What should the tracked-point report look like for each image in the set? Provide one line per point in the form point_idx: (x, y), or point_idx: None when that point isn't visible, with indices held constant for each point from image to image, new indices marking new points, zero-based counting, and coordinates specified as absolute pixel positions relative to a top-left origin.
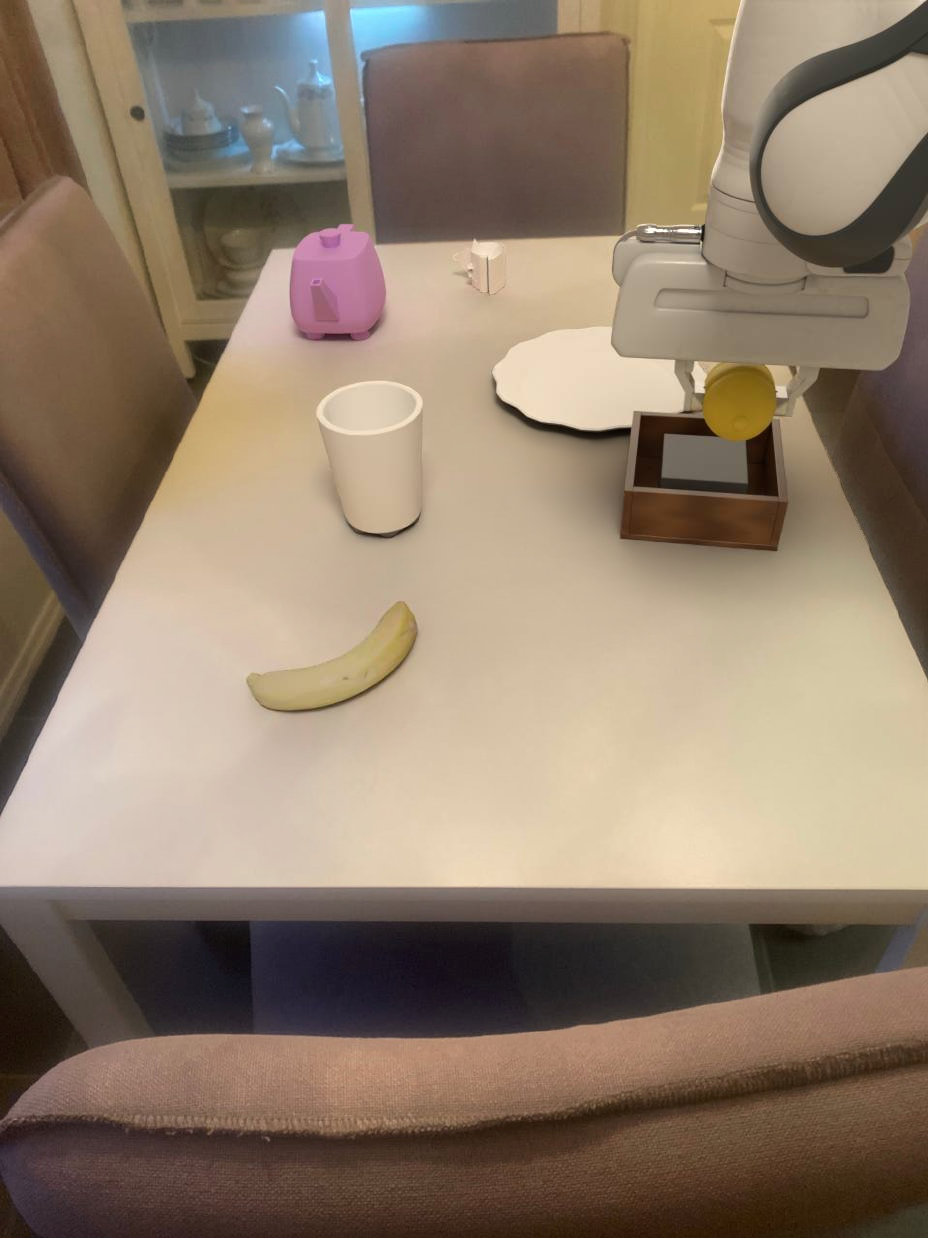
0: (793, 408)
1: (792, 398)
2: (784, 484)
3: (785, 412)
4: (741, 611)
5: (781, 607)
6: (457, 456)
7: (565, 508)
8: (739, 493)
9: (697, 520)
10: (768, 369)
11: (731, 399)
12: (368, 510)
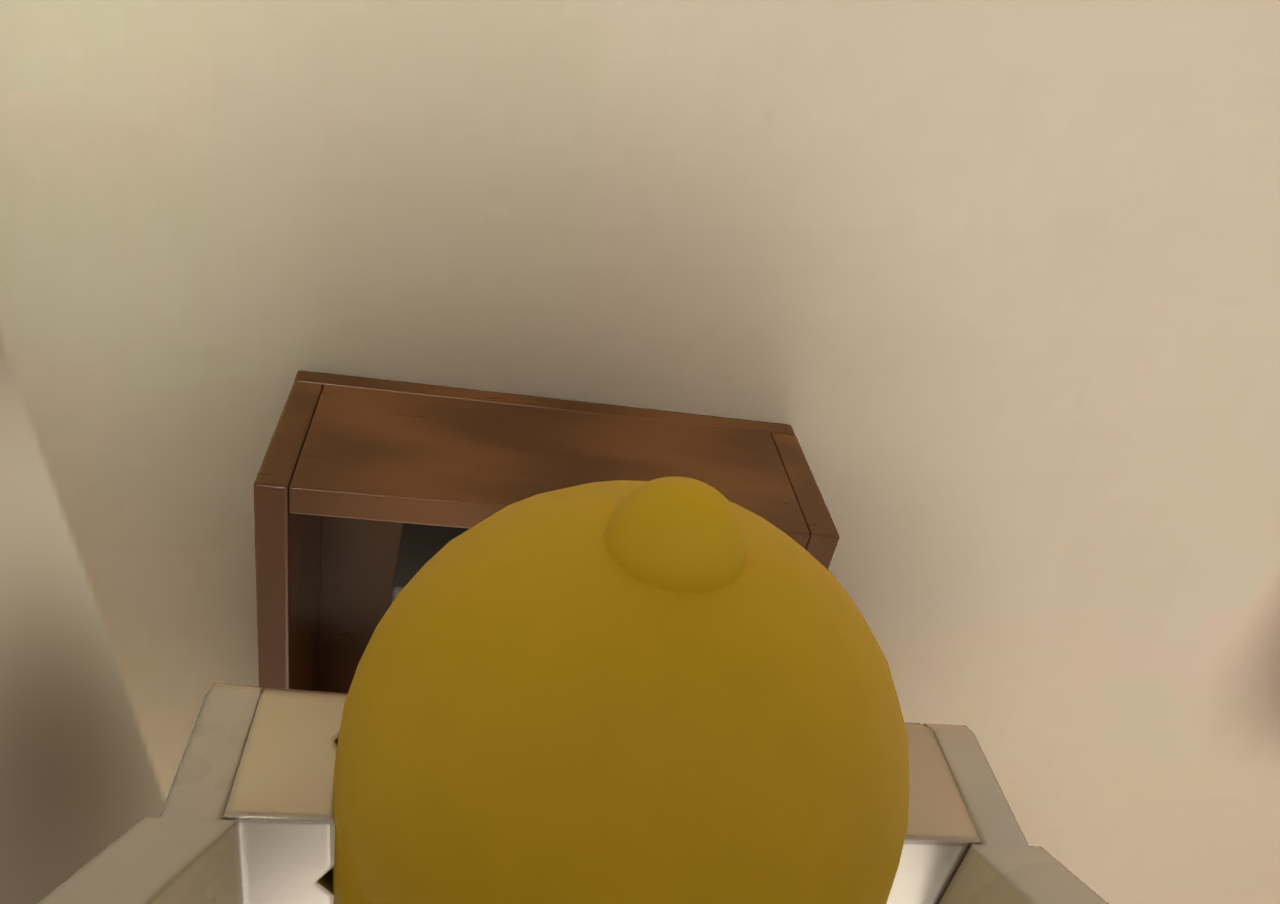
0: (193, 737)
1: (194, 813)
2: (263, 576)
3: (260, 708)
4: (448, 58)
5: (299, 78)
6: (1140, 728)
7: (917, 547)
8: (420, 560)
9: (571, 451)
10: None
11: (795, 745)
12: None
